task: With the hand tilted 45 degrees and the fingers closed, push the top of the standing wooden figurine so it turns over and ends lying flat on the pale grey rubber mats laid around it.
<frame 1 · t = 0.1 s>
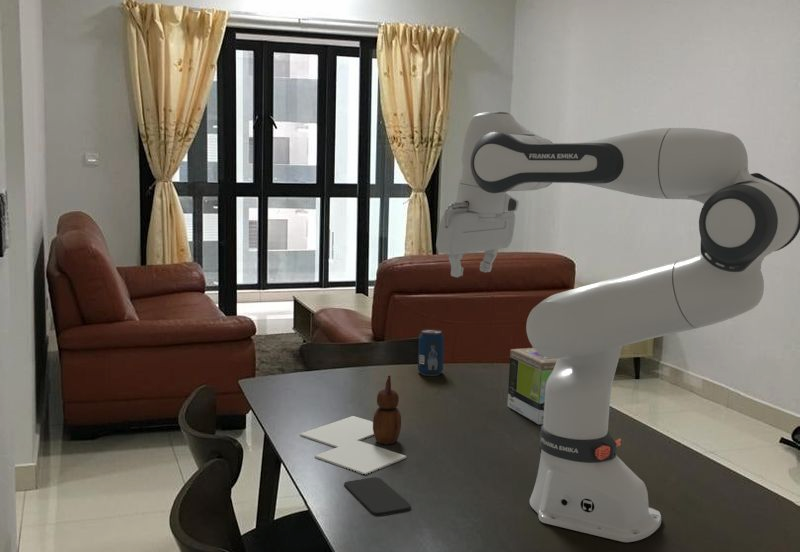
hand: (471, 274, 159), 39 cm above the table, tool pointing down, fingers open, 8 cm apart
mat front: (346, 432, 186), on the table
tea box: (539, 415, 203), on the table
soda can: (430, 373, 236), on the table
mat side: (360, 457, 171), on the table
wooden figurine: (386, 442, 181), on the table
phone: (376, 499, 152), on the table
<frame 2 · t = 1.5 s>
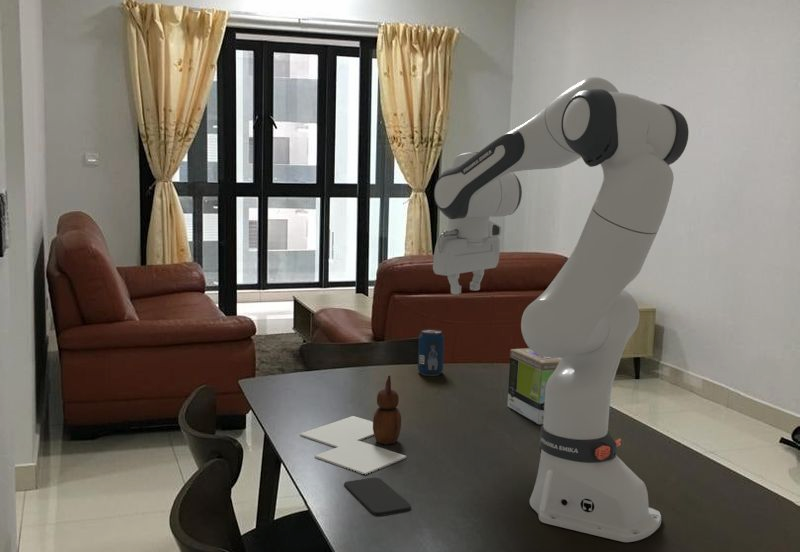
hand: (465, 292, 184), 31 cm above the table, tool pointing down, fingers open, 6 cm apart
nothing on the table moved.
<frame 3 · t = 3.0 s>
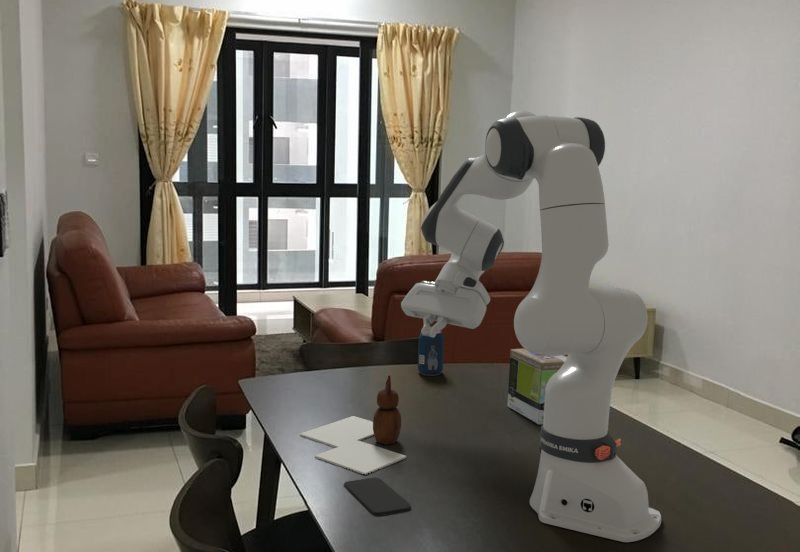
hand: (427, 335, 188), 21 cm above the table, tool tilted 45°, fingers closed
nothing on the table moved.
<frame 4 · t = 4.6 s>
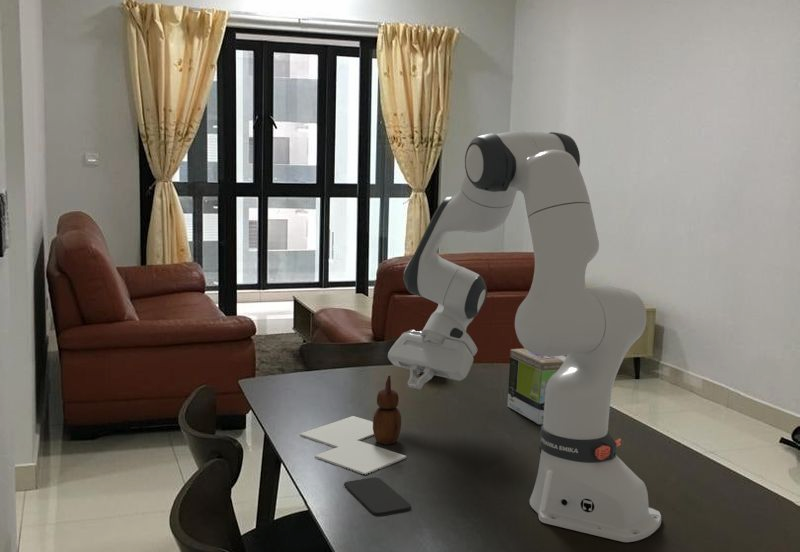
hand: (413, 386, 186), 10 cm above the table, tool tilted 45°, fingers closed
nothing on the table moved.
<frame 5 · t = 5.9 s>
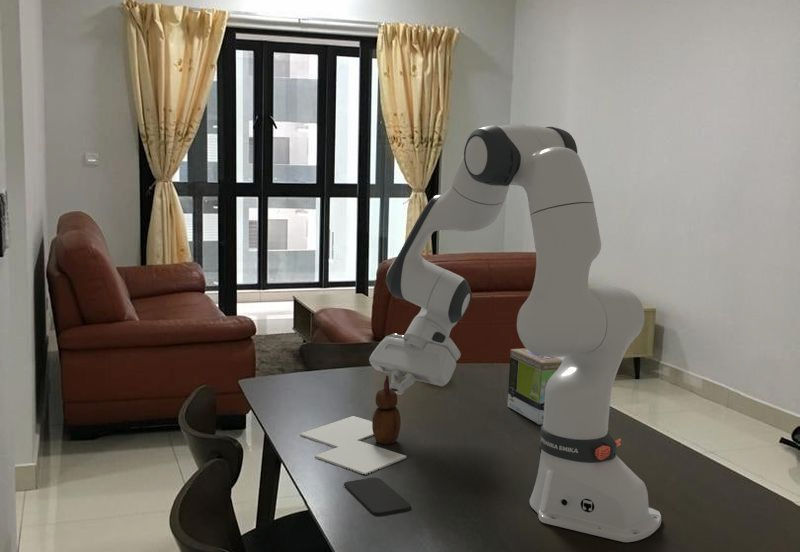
hand: (394, 392, 181), 10 cm above the table, tool tilted 45°, fingers closed, pressing on wooden figurine
wooden figurine: (386, 442, 181), on the table, touching gripper
everything else where it was.
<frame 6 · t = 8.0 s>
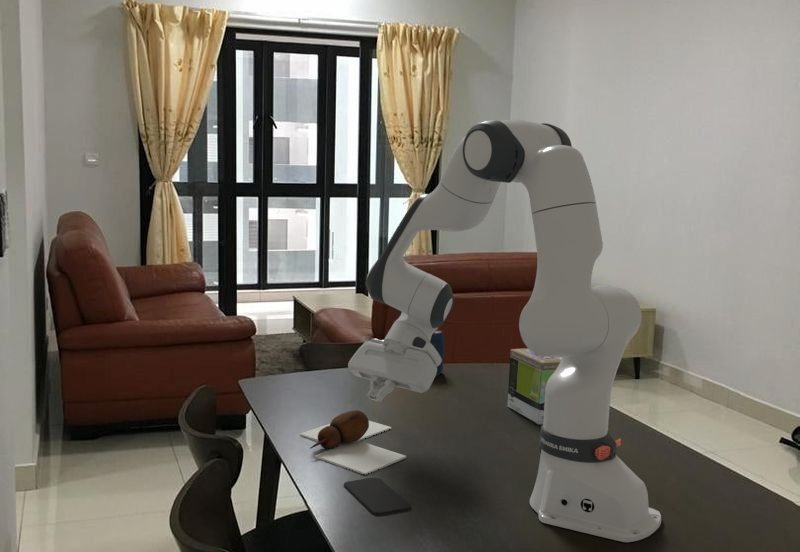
hand: (373, 399, 175), 10 cm above the table, tool tilted 45°, fingers closed
wooden figurine: (363, 418, 181), point 5 cm above the table, touching mat front
everything else where it was.
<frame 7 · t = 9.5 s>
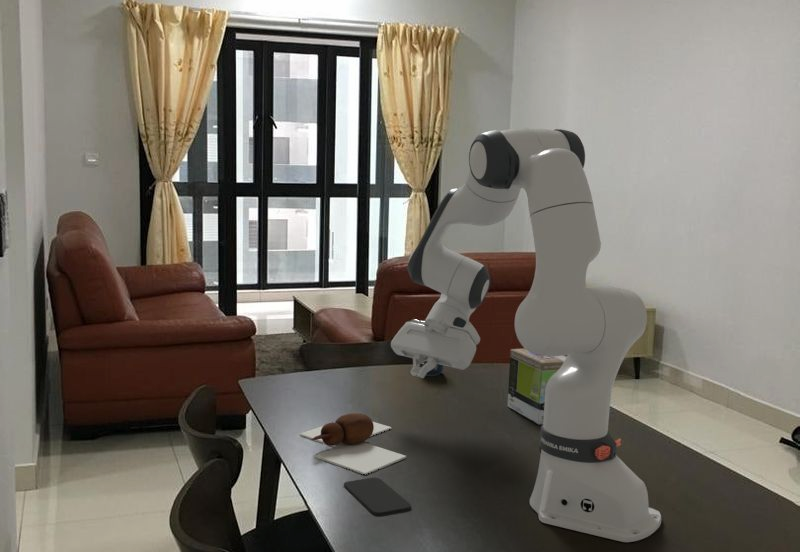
hand: (416, 375, 186), 12 cm above the table, tool tilted 45°, fingers closed
wooden figurine: (369, 424, 181), point 3 cm above the table, touching mat front, mat side
everything else where it was.
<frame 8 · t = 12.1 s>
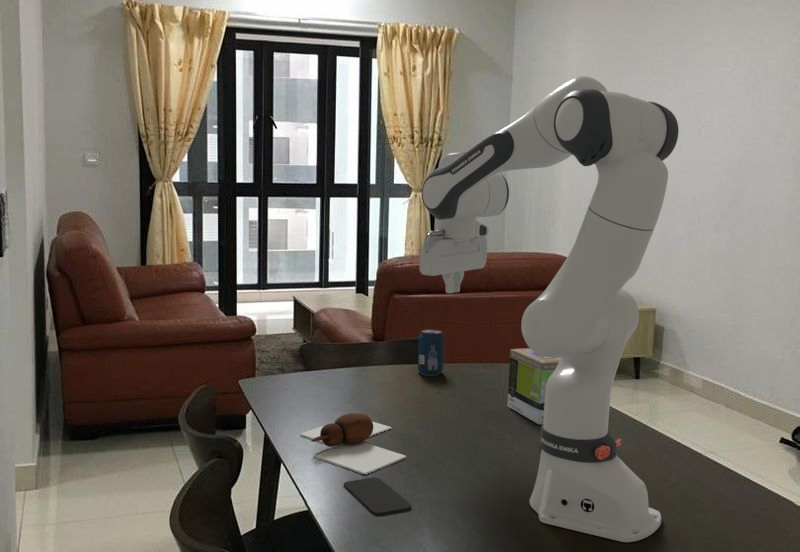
hand: (452, 292, 184), 31 cm above the table, tool pointing down, fingers closed
nothing on the table moved.
at the end: wooden figurine tilted 93°; wooden figurine inside the target area (2.3 cm from its centre), point 3.5 cm above the table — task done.
